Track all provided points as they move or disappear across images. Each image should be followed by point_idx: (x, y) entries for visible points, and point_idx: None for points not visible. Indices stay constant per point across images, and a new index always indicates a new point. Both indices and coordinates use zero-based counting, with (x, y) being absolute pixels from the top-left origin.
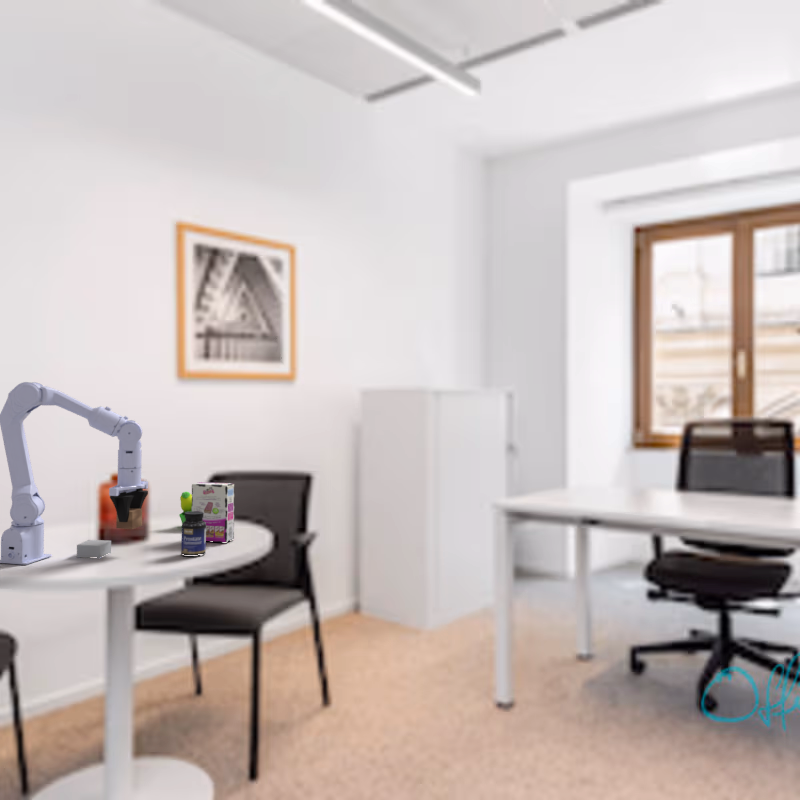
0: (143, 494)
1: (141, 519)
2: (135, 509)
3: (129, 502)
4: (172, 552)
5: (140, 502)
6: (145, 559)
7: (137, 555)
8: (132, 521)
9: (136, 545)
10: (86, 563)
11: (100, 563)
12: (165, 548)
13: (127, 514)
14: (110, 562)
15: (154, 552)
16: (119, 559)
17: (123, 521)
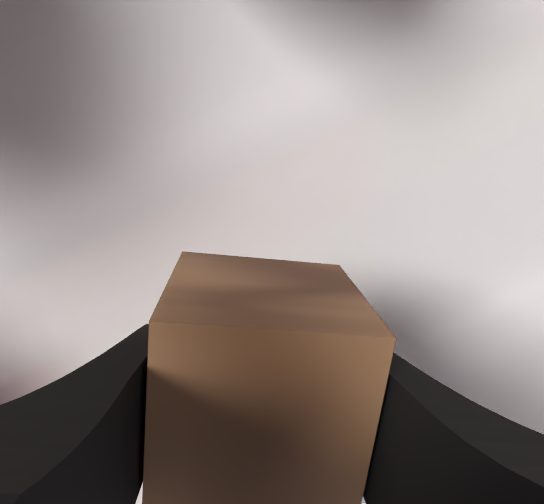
0: (39, 486)
1: (184, 273)
2: (222, 380)
3: (529, 448)
4: (151, 15)
5: (111, 411)
6: (356, 111)
7: (268, 202)
8: (355, 289)
9: (29, 324)
10: (455, 359)
11: (454, 300)
12: (53, 115)
13: (408, 366)
14: (433, 265)
15: (176, 137)
16: (368, 253)
17: None
